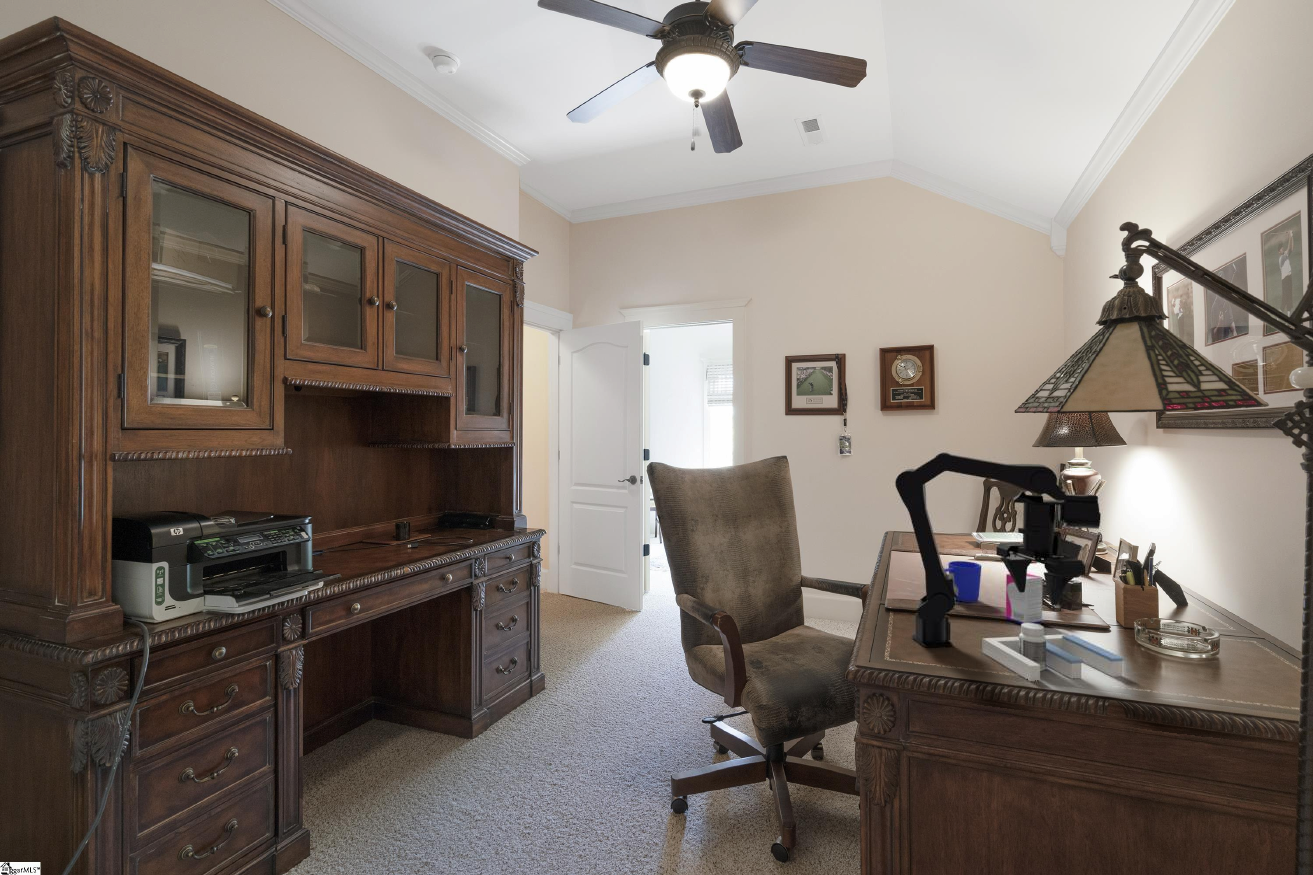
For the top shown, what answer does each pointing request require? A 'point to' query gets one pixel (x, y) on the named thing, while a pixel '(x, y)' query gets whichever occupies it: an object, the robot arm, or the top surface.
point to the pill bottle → (1033, 643)
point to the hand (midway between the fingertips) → (1037, 598)
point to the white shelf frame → (1053, 656)
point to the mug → (966, 579)
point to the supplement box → (1024, 600)
